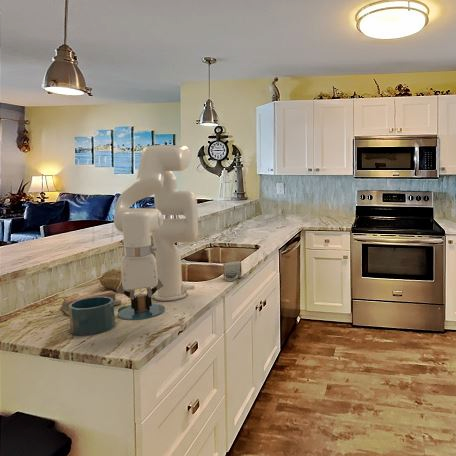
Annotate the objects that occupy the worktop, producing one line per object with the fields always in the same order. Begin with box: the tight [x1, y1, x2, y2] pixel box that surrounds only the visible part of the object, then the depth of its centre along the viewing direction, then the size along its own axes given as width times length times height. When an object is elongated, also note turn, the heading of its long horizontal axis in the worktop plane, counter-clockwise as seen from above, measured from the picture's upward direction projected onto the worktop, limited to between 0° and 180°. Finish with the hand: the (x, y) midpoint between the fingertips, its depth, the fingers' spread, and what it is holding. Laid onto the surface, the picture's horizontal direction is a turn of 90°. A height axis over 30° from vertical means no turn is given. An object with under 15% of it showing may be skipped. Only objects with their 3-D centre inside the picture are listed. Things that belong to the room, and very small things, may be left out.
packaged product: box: [60, 290, 122, 316], centre depth 154 cm, size 18×5×10 cm
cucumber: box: [117, 304, 131, 313], centre depth 147 cm, size 9×3×3 cm, turn 117°
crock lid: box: [117, 293, 166, 321], centre depth 128 cm, size 14×14×6 cm
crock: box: [68, 297, 116, 336], centre depth 134 cm, size 13×13×8 cm
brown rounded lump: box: [99, 269, 121, 290], centre depth 179 cm, size 13×8×20 cm
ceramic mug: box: [222, 261, 243, 282], centre depth 193 cm, size 11×8×8 cm
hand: (141, 309), depth 128 cm, fingers closed on crock lid, 3 cm apart
